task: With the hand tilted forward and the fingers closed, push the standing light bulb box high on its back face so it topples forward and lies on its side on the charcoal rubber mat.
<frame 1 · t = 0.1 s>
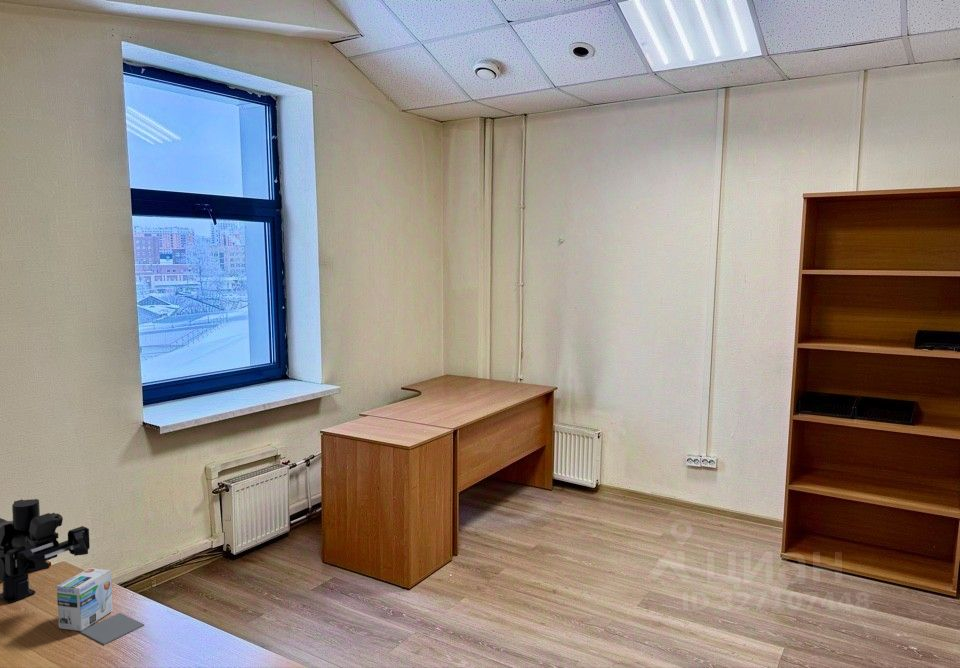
hand: (68, 558, 162), 17 cm above the table, tool horizontal, fingers open, 9 cm apart
light bulb box: (86, 620, 166), on the table, touching rubber mat
rubber mat: (112, 628, 162), on the table
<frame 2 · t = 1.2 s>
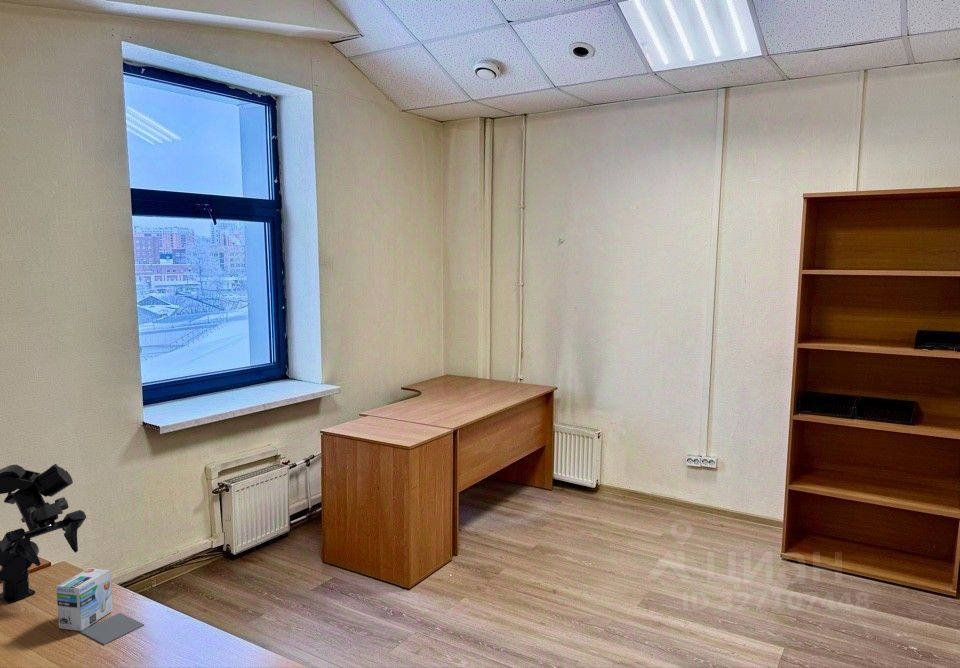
hand: (58, 558, 170), 13 cm above the table, tool tilted 45°, fingers open, 9 cm apart
nothing on the table moved.
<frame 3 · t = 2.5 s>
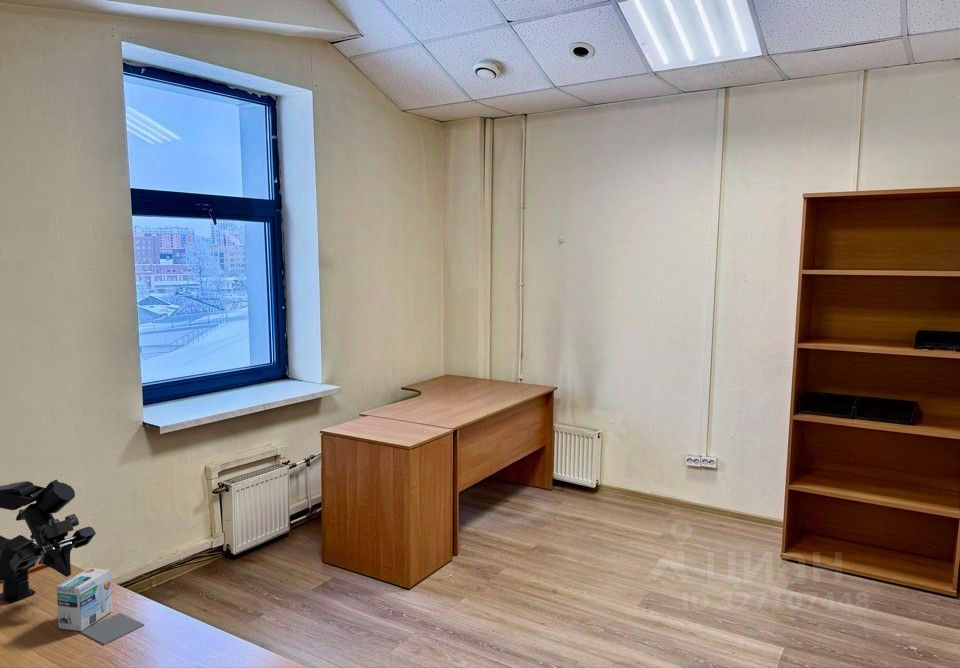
hand: (68, 575, 169), 9 cm above the table, tool tilted 45°, fingers closed
nothing on the table moved.
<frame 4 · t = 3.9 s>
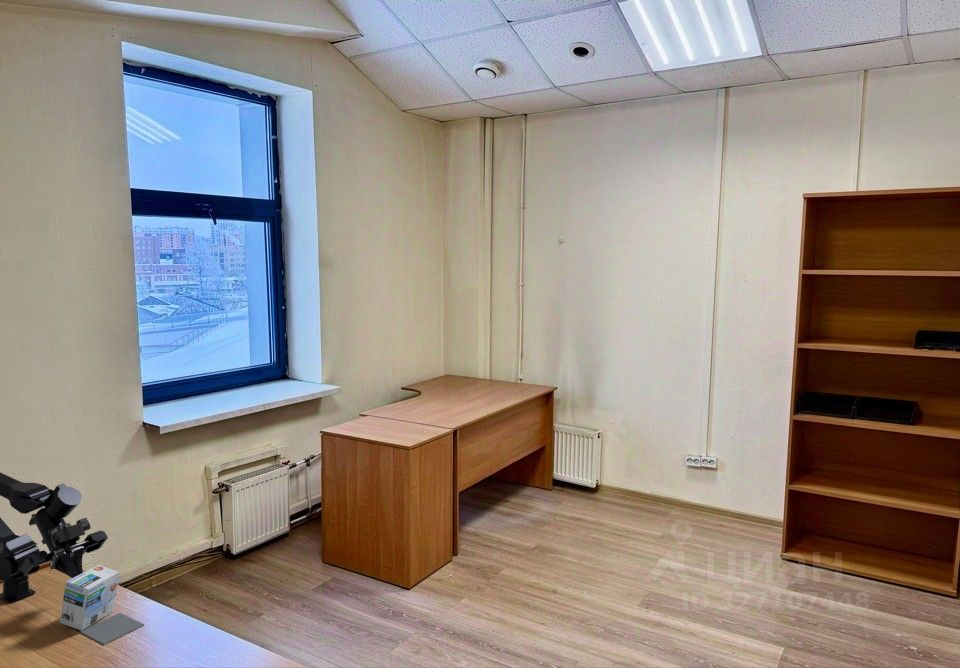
hand: (80, 580, 166), 10 cm above the table, tool tilted 45°, fingers closed
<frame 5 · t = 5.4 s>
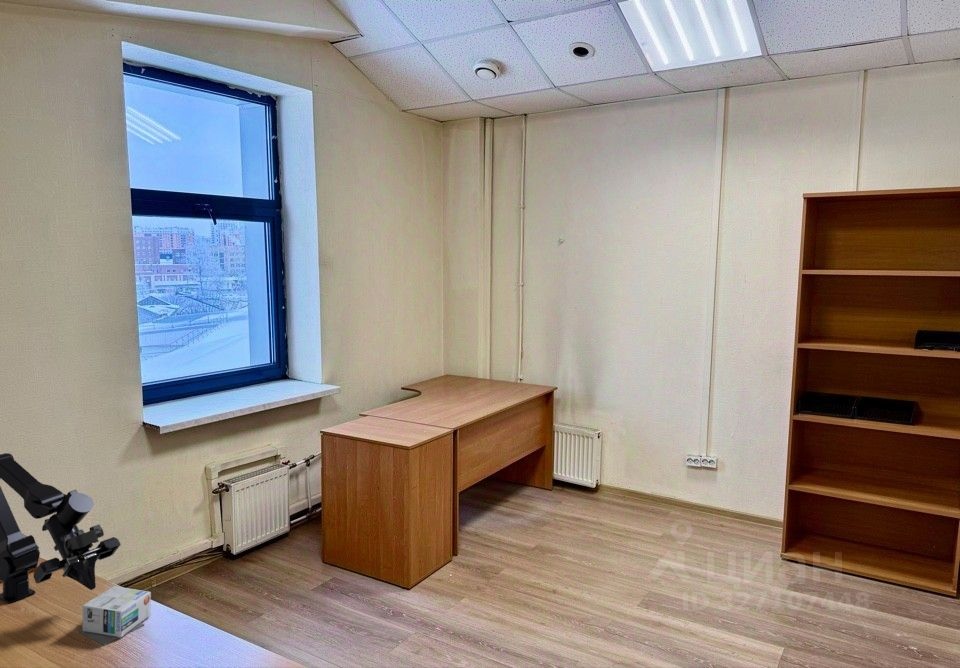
hand: (93, 588, 163), 9 cm above the table, tool tilted 45°, fingers closed
light bulb box: (97, 607, 164), point 4 cm above the table, touching rubber mat
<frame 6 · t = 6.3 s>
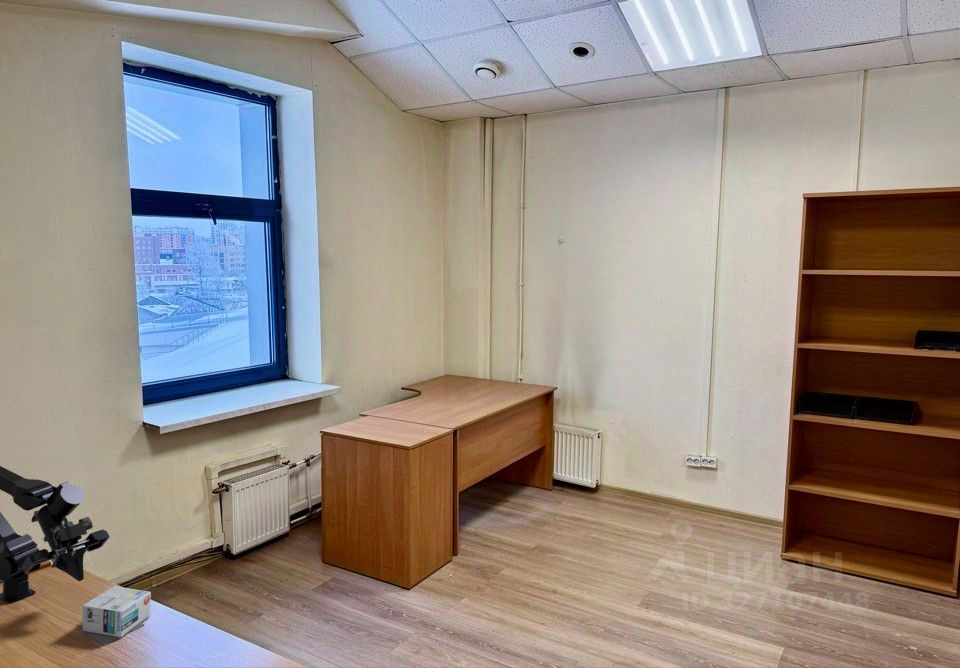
hand: (81, 580, 165), 10 cm above the table, tool tilted 45°, fingers closed
nothing on the table moved.
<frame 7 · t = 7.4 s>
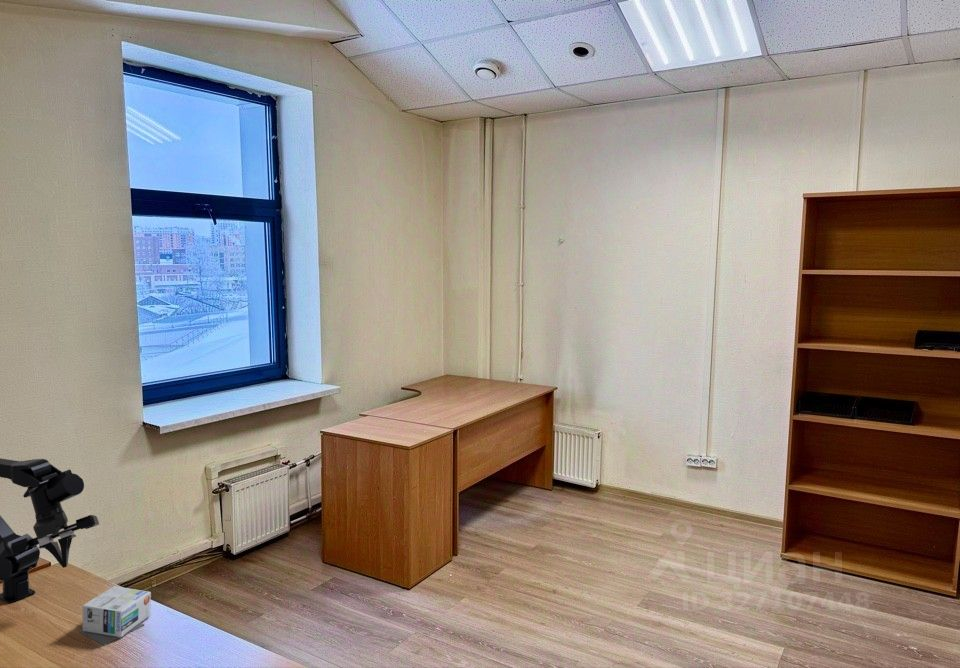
hand: (65, 567, 168), 12 cm above the table, tool tilted 25°, fingers closed
nothing on the table moved.
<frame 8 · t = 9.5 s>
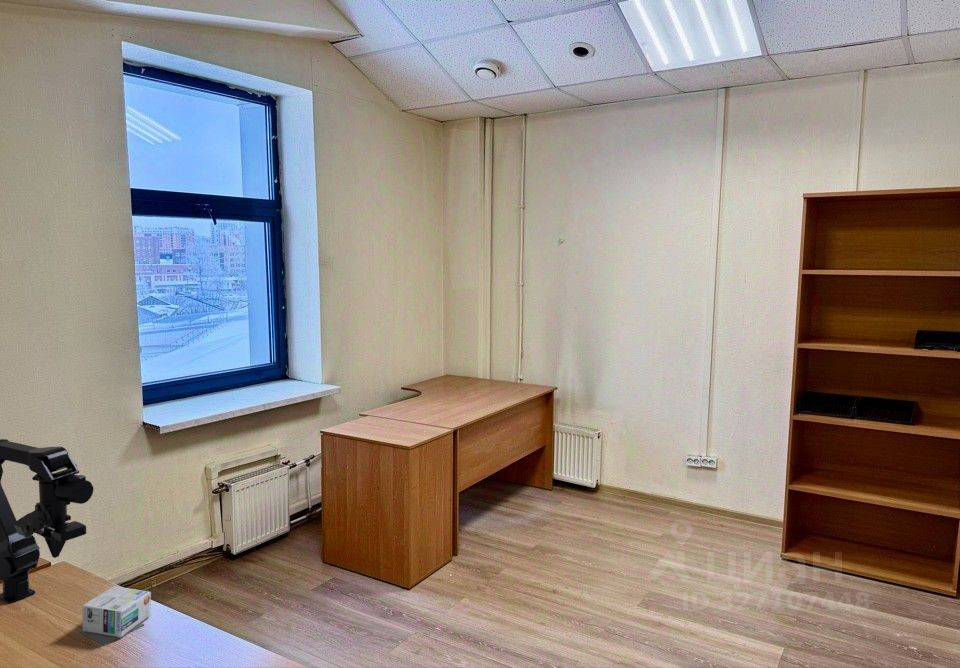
hand: (55, 557, 170), 13 cm above the table, tool pointing down, fingers closed
nothing on the table moved.
at the end: light bulb box tilted 91°; light bulb box touching rubber mat; light bulb box inside the target area (3.9 cm from its centre), point 3.8 cm above the table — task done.
